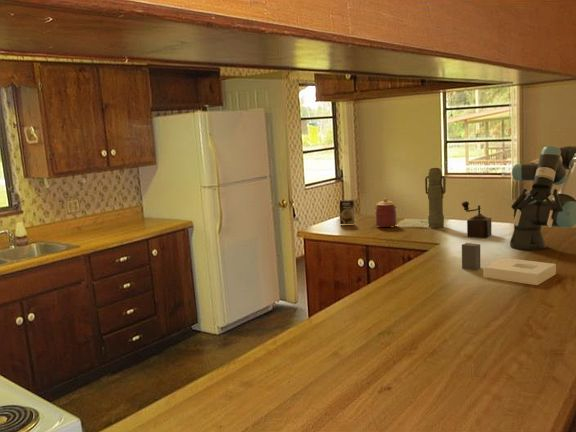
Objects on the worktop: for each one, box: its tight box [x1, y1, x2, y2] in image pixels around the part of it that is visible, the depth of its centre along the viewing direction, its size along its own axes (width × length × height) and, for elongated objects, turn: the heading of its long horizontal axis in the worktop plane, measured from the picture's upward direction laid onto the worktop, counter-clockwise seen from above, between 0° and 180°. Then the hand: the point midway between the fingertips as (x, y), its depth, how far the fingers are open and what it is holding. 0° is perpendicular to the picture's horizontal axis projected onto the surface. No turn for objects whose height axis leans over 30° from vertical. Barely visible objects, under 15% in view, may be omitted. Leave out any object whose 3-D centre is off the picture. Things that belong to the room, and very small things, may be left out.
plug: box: [461, 242, 481, 271], centre depth 216 cm, size 4×6×10 cm, turn 45°
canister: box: [374, 197, 398, 227], centre depth 325 cm, size 13×13×18 cm
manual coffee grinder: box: [461, 200, 492, 239], centre depth 281 cm, size 16×11×18 cm
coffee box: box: [339, 199, 355, 225], centre depth 338 cm, size 9×6×16 cm
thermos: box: [424, 167, 447, 229], centre depth 311 cm, size 9×12×35 cm
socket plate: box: [482, 257, 557, 286], centre depth 202 cm, size 18×20×4 cm
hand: (531, 225), depth 217 cm, fingers open, 13 cm apart
